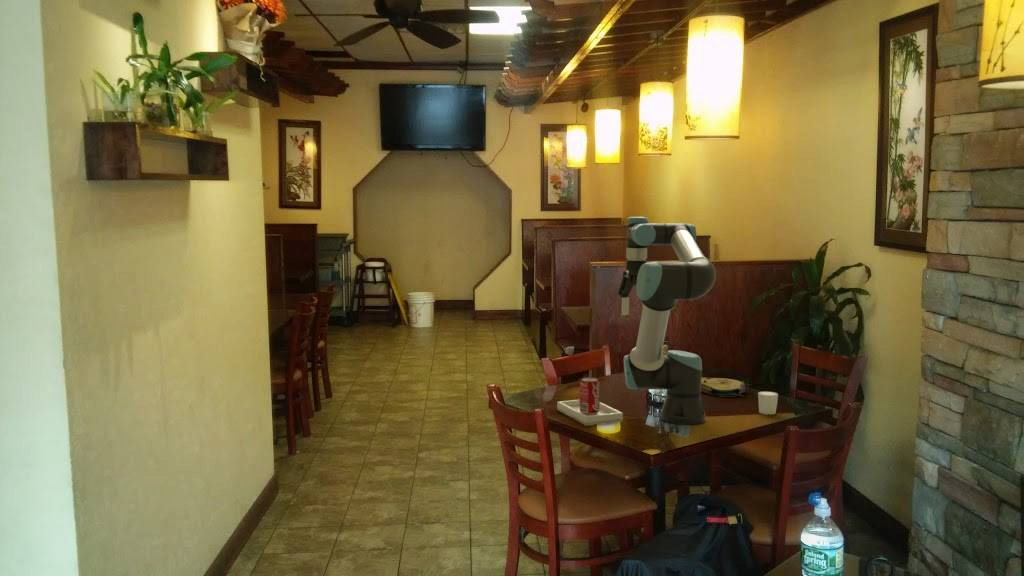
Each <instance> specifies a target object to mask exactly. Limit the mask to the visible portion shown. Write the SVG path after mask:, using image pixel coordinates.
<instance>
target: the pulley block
mask: <svg viewBox="0 0 1024 576" xmlns="http://www.w3.org/2000/svg"><path fill="white" fill-rule="evenodd" d="M746 386H753V384H749V383H748V384H747V383H745V382H744V380H742V381H740V380H737V379H733V378H731V379H730V378H724V377H723V378H721V377H720V378H719V377H718V378H717V377H701V393H704V394H707V395H709V396H715V397H719V398H720V397H723V398H726V397H727V398H729V397H731V398H732V397H733V398H734V397H738V396H740V397H744V395H743V393H745V392H746Z"/></svg>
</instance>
